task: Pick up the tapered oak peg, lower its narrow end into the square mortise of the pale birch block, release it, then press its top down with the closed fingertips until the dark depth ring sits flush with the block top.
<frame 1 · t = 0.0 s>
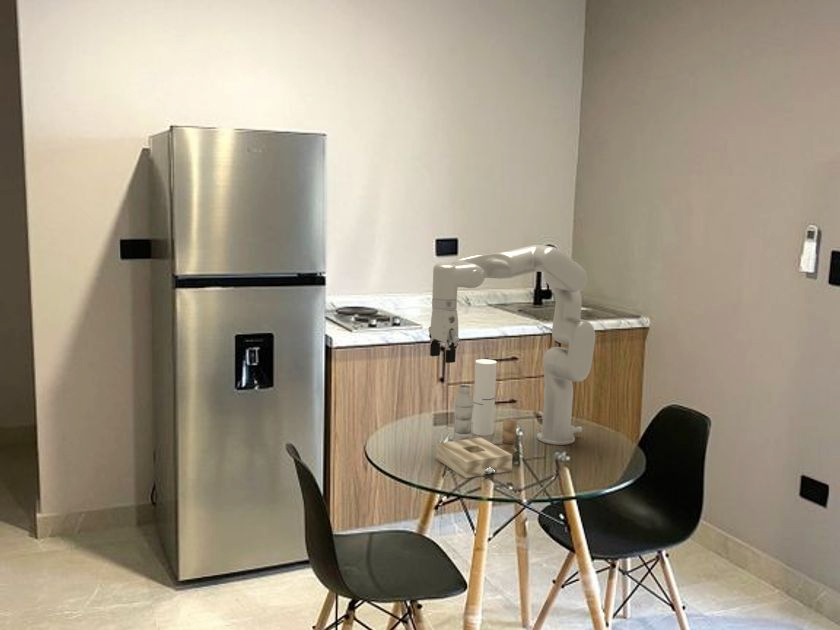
hand: (442, 359, 263), 31 cm above the table, fingers open, 9 cm apart
block: (473, 464, 261), on the table
cylindrical container: (482, 433, 294), on the table
plastic bottle: (462, 446, 279), on the table
peg: (508, 457, 269), on the table
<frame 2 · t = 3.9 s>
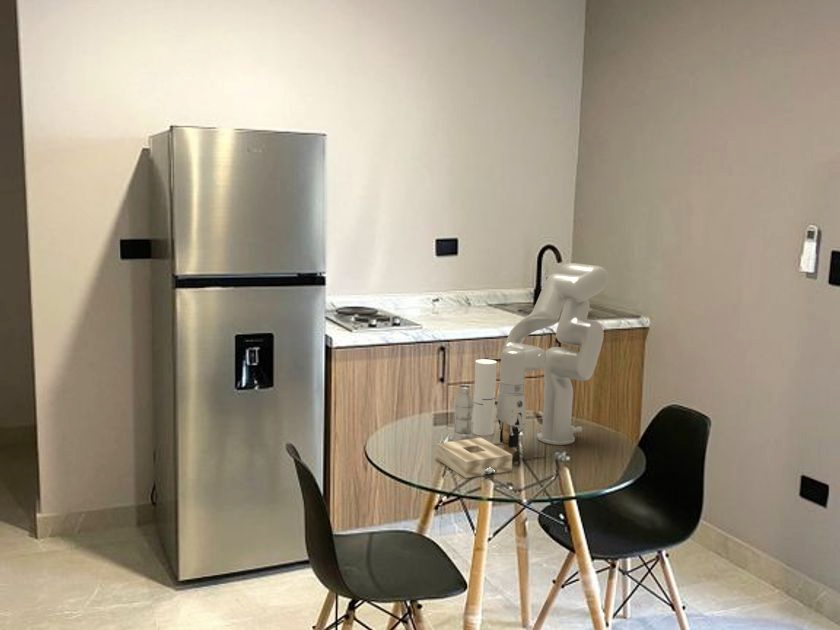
hand: (508, 443, 269), 4 cm above the table, fingers closed on peg, 4 cm apart
peg: (508, 457, 269), on the table, touching gripper
everything else where it was.
when the fingers open (6 cm above the table, at t = 9.2 s): peg drops 2 cm, resting in block.
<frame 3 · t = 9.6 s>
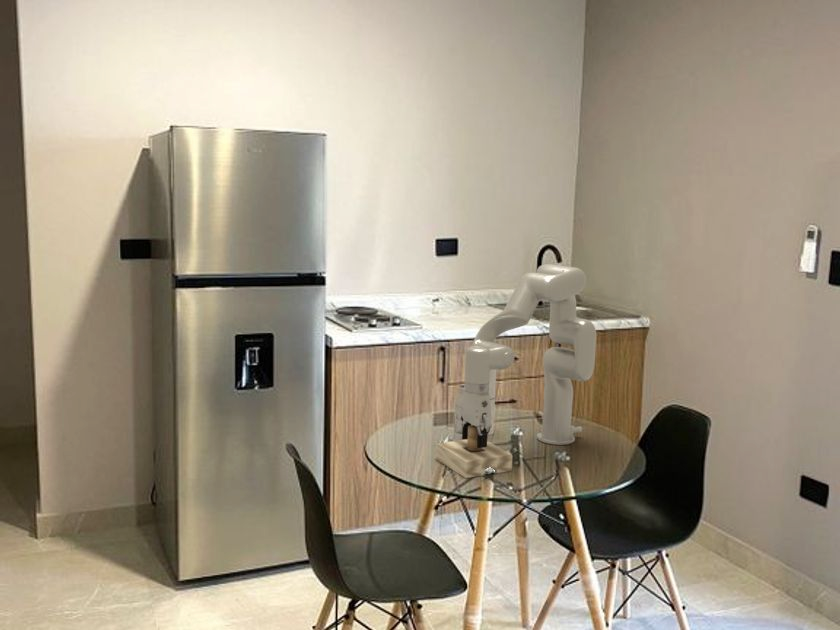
hand: (474, 442, 260), 7 cm above the table, fingers open, 8 cm apart
peg: (473, 464, 261), resting in block
everything else where it was.
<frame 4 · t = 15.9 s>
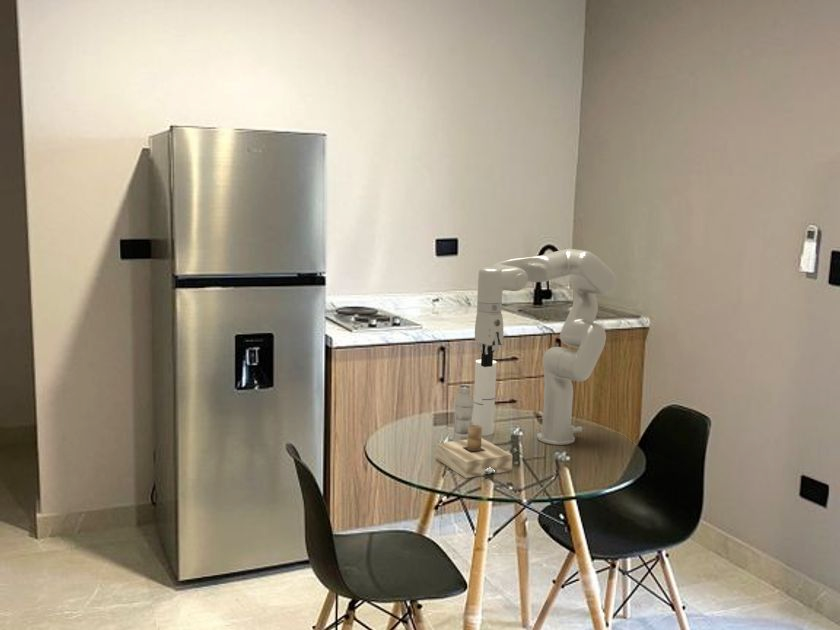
hand: (486, 366, 265), 29 cm above the table, fingers closed
nothing on the table moved.
at the end: peg 0.0 cm off-centre on the block, point 0.0 cm above the block's base; peg tilted 0°; the gripper is holding nothing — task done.
